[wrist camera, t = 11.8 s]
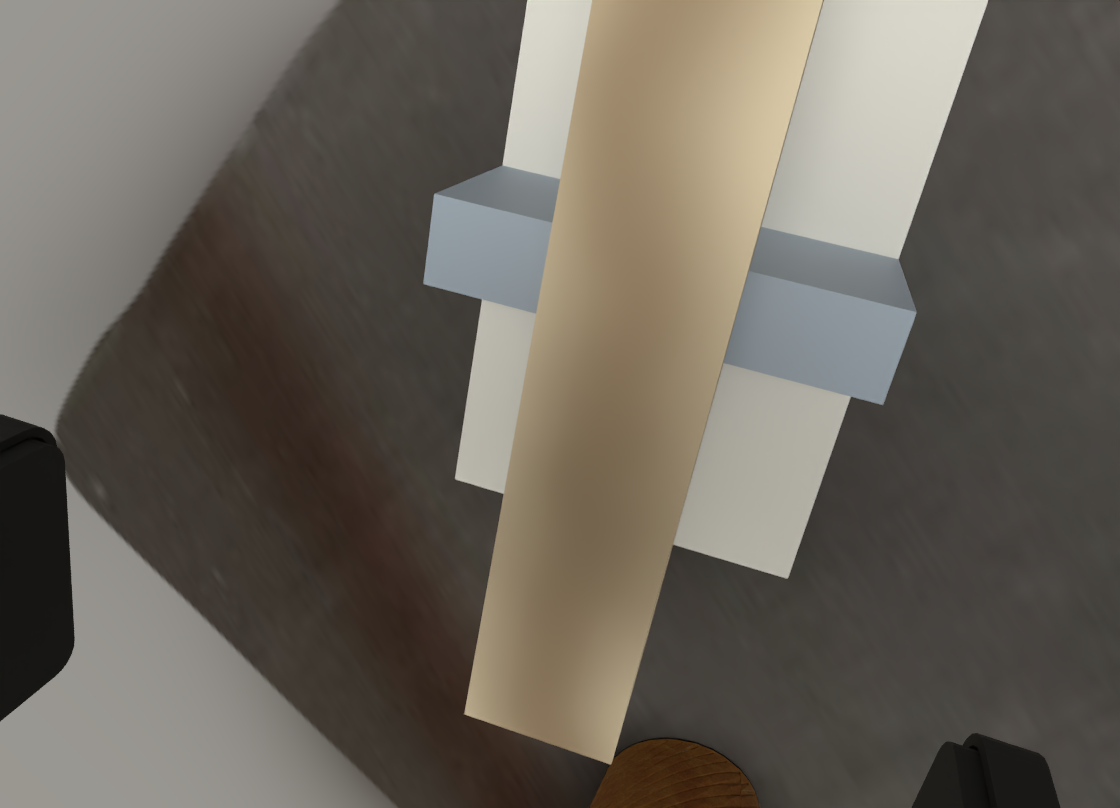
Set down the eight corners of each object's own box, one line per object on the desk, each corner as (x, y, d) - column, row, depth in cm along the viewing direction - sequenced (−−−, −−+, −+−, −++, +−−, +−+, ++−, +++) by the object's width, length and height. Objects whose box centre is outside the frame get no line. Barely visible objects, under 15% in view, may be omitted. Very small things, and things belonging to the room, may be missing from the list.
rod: (883, -214, 18) (899, -277, 14) (639, 666, 27) (611, 764, 23) (681, -245, 18) (648, -313, 15) (511, 625, 27) (464, 714, 24)
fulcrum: (1010, -81, 23) (1073, -119, 17) (788, 563, 31) (781, 683, 26) (562, -159, 25) (484, -217, 19) (464, 467, 33) (389, 558, 28)
